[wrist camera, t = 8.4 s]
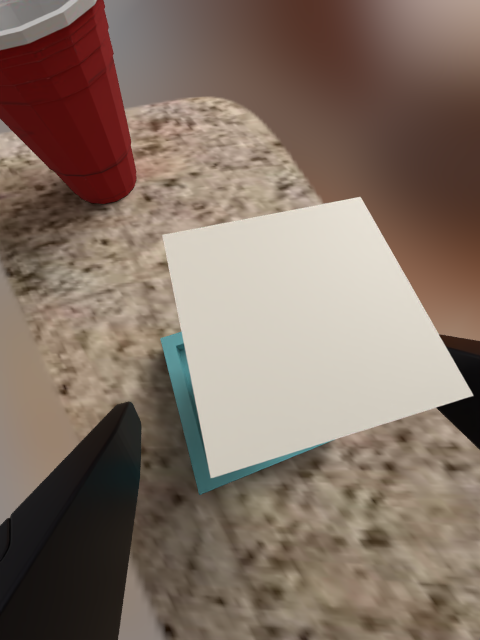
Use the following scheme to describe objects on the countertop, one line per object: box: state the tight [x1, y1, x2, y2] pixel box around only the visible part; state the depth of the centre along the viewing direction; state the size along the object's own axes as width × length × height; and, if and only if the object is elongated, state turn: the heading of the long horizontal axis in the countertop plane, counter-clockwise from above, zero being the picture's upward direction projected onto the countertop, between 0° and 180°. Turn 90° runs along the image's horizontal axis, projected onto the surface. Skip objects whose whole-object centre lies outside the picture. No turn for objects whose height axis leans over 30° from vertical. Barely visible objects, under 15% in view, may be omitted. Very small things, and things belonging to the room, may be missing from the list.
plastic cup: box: [0, 0, 137, 204], centre depth 18 cm, size 11×11×12 cm
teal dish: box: [160, 332, 335, 495], centre depth 17 cm, size 9×9×2 cm
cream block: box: [162, 197, 474, 478], centre depth 11 cm, size 4×4×13 cm
